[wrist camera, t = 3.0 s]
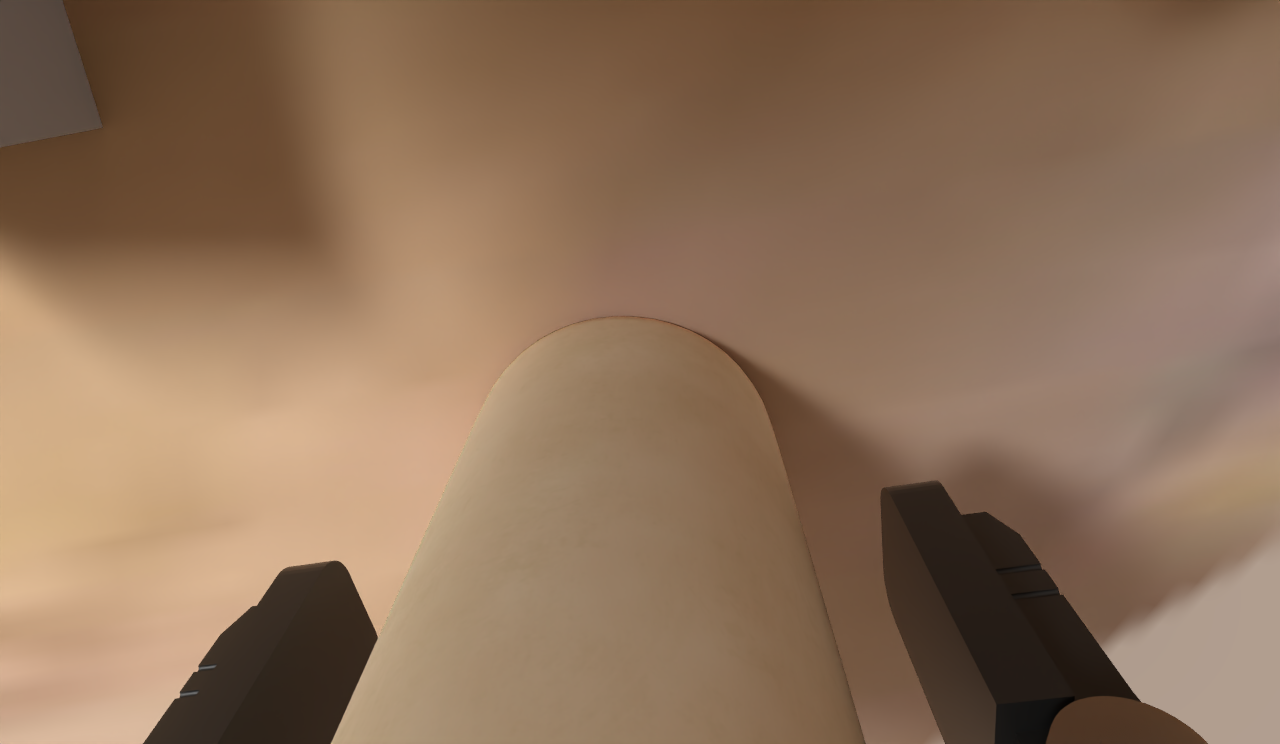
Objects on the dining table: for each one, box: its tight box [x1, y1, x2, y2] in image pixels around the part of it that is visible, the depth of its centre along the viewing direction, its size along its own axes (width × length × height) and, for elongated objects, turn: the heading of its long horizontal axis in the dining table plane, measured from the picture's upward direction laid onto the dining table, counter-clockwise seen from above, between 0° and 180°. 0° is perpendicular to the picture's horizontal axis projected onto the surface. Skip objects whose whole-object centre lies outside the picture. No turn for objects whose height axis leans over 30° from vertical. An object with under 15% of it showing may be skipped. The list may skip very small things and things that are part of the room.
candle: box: [331, 316, 866, 744], centre depth 9 cm, size 6×6×10 cm
